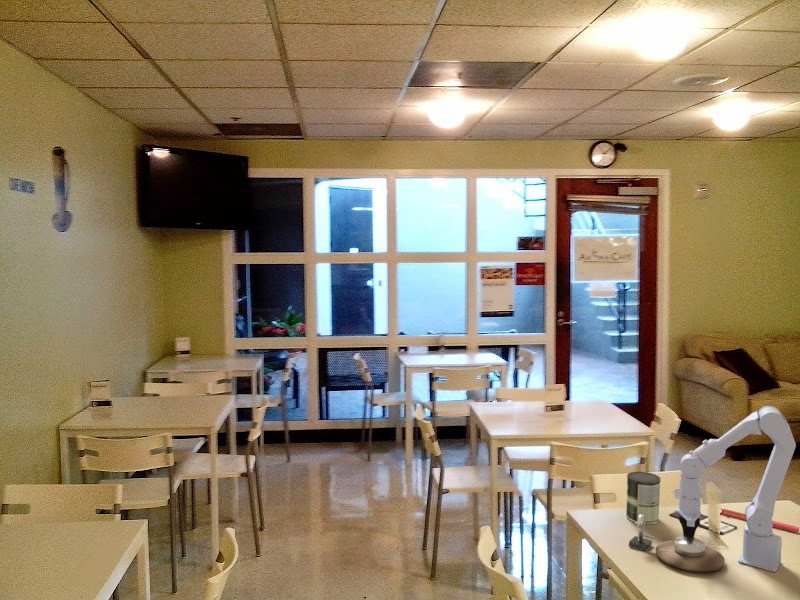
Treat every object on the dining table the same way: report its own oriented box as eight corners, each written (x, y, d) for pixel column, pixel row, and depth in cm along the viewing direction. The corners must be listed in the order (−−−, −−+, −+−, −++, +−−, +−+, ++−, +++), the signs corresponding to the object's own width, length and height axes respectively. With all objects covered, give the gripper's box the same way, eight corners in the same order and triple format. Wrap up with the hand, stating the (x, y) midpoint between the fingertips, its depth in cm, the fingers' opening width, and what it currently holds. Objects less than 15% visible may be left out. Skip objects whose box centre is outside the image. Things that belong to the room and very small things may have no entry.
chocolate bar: (685, 508, 229) (737, 526, 214) (685, 511, 229) (736, 529, 214) (669, 514, 224) (720, 533, 209) (669, 516, 224) (720, 536, 209)
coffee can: (621, 519, 221) (622, 477, 220) (632, 510, 229) (633, 469, 228) (652, 527, 214) (654, 484, 213) (663, 517, 222) (665, 475, 221)
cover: (708, 551, 194) (708, 541, 194) (699, 561, 188) (700, 550, 188) (679, 543, 199) (679, 533, 199) (670, 552, 193) (670, 542, 193)
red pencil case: (720, 514, 229) (716, 513, 225) (721, 507, 229) (717, 507, 225) (801, 534, 212) (797, 534, 209) (801, 527, 213) (798, 527, 209)
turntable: (731, 555, 193) (732, 551, 193) (714, 578, 180) (714, 575, 179) (667, 537, 205) (667, 534, 205) (646, 558, 191) (646, 555, 191)
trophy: (656, 546, 201) (657, 515, 200) (650, 552, 197) (652, 520, 196) (635, 540, 205) (636, 510, 204) (628, 546, 201) (629, 515, 200)
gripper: (674, 486, 205) (672, 529, 206) (676, 503, 192) (674, 549, 193) (699, 489, 203) (697, 533, 204) (703, 506, 189) (701, 553, 190)
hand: (688, 541), depth 198 cm, fingers closed
